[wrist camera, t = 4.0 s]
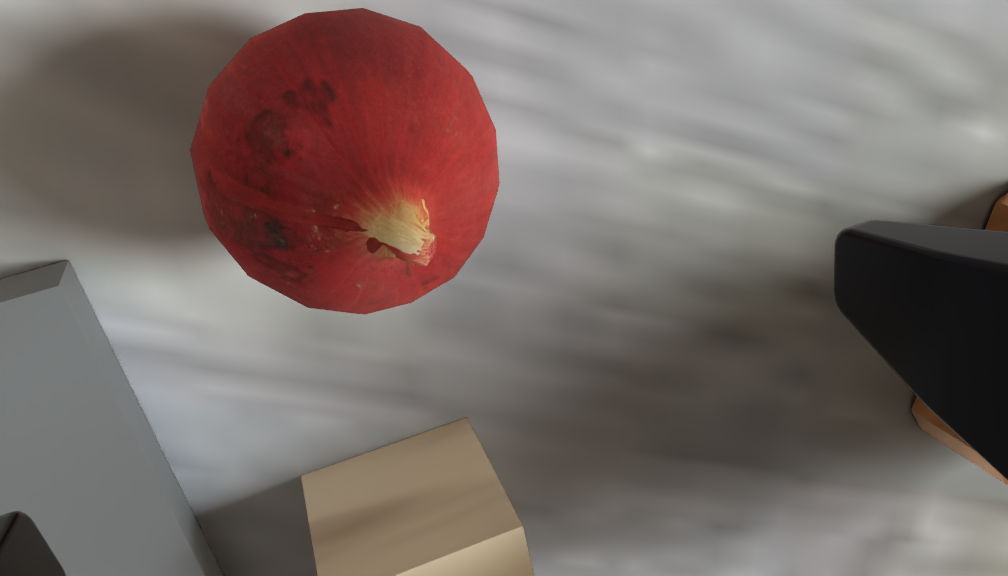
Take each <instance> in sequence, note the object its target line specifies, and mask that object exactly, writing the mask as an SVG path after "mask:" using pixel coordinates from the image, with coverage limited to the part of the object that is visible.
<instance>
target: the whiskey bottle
mask: <svg viewBox="0 0 1008 576" xmlns="http://www.w3.org/2000/svg"><path fill="white" fill-rule="evenodd" d="M985 230H990V231H1001V232H1008V193H1007V194H1005V195H1004V196H1003V197H1001V198H1000V199H999V200H998V201H996V204H995V206H994V209H993V211H992V213H991V216H990V218H989V221H988V223H987V226H986V228H985ZM911 411H912V412H913V414H914V416H915V418H916V420H917V422H918V424H919V426H920V428H921V429H922V430H924V431H925V432H927V433H928V434H930V435H931V436H933V437H934V438H936V439H937V440H939V441H940V442H942V443H943V444H945V445H946V446H948V447H950V448H951V449H953V450H954V451H956V452H957V453H959V454H960V455H962V456H963V457H965V458H966V459H968V460H969V461H971V462H972V463H974V464H976V465H977V466H979V467H980V468H982V469H983V470H985V471H986V472H988V473H989V474H991V475H992V476H994V477H995V478H997V479H999V480H1000V481H1002V482H1003V483H1005V484H1008V480H1007V479H1005V478H1004V477H1003V476H1002V475H1001V474H1000V473H999V472H998V471H997V470H996V469H995V468H993V467H992V466H991V465H990V464H989V463H988V462H987V461H986V460H985V459H984V458H982V457H981V456H980V455H979V454H978V453H977V452H976V451H975V450H974V449H973V448H972V447H970V446H969V445H968V444H967V443H966V442H965V441H964V440H963V439H962V438H961V437H960V436H958V435H957V434H956V433H955V432H954V431H953V430H952V429H951V428H950V427H949V426H947V425H946V424H945V423H944V422H943V421H942V420H941V419H940V418H939V417H938V416H937V415H936V414H935V413H933V412H932V411H931V410H930V409H929V408H928V407H927V406H926V405H925V404H924V403H923V402H922V401H921V400H920V399H919V398H918V397H916V400H915V402H914V405H913V407H912V409H911Z"/></svg>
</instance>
